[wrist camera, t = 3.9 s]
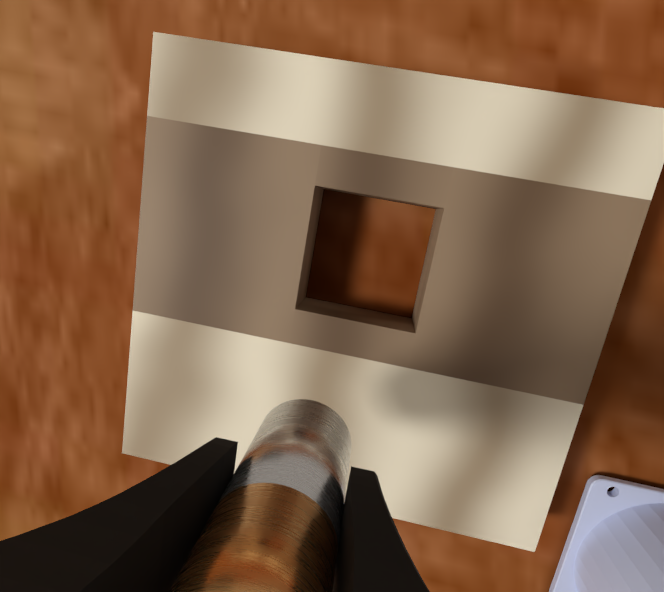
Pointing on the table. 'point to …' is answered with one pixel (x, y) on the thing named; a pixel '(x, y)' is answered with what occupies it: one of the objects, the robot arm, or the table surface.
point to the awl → (278, 509)
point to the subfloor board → (435, 284)
